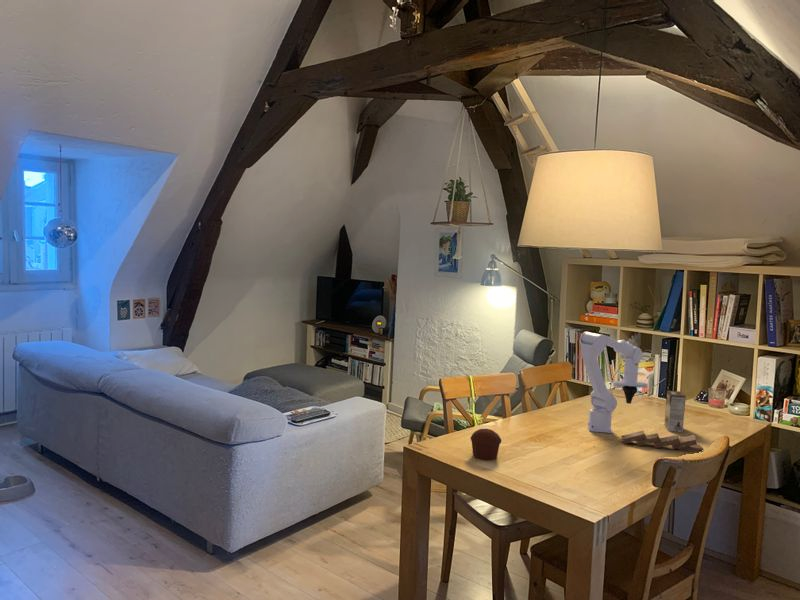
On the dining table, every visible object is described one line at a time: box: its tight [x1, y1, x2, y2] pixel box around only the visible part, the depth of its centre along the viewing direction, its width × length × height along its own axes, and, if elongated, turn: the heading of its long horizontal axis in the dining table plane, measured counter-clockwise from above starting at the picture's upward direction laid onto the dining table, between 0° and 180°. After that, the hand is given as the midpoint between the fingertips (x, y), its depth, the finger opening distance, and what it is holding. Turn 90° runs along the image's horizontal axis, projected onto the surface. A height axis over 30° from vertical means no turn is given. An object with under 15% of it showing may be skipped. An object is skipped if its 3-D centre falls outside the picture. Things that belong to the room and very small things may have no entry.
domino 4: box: [671, 434, 698, 450], centre depth 252 cm, size 2×5×9 cm
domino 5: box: [677, 443, 704, 453], centre depth 253 cm, size 2×5×9 cm
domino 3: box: [653, 434, 680, 449], centre depth 253 cm, size 2×5×9 cm
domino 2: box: [635, 432, 661, 447], centre depth 256 cm, size 2×5×9 cm
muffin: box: [470, 428, 502, 461], centre depth 235 cm, size 12×11×10 cm
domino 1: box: [620, 429, 646, 445], centre depth 257 cm, size 2×5×9 cm
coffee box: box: [663, 390, 687, 433], centre depth 280 cm, size 9×6×16 cm
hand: (628, 403), depth 281 cm, fingers closed
